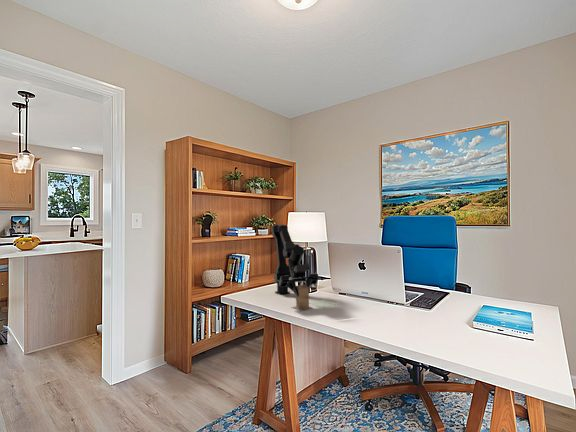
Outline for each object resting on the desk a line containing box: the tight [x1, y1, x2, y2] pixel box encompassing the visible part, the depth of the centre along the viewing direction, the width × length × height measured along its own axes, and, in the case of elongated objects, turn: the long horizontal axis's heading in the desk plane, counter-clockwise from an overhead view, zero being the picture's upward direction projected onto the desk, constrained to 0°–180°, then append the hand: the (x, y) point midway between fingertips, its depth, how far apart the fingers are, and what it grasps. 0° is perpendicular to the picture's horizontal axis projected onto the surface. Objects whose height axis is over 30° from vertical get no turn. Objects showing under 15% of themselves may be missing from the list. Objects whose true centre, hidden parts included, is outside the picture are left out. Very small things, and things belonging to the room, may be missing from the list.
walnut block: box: [295, 284, 310, 310], centre depth 145 cm, size 5×5×10 cm
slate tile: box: [290, 305, 315, 312], centre depth 145 cm, size 8×8×1 cm
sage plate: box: [309, 299, 337, 309], centre depth 151 cm, size 10×10×1 cm
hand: (303, 295), depth 144 cm, fingers closed on walnut block, 5 cm apart
